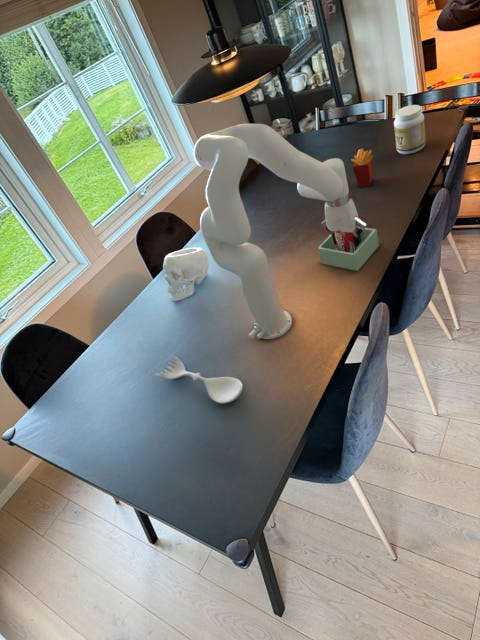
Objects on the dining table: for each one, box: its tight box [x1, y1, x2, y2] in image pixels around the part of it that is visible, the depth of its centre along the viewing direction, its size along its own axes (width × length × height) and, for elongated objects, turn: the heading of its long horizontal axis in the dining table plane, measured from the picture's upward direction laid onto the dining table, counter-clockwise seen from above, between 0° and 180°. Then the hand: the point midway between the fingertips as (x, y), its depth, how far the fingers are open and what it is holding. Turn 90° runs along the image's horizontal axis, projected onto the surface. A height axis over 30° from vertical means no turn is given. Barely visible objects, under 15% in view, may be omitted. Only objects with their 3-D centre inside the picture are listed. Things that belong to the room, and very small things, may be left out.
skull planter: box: [162, 247, 210, 302], centre depth 166 cm, size 14×20×19 cm
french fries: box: [350, 148, 374, 188], centre depth 176 cm, size 9×8×15 cm
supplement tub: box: [393, 104, 426, 155], centre depth 183 cm, size 12×12×17 cm
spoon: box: [155, 354, 243, 404], centre depth 128 cm, size 9×32×4 cm, turn 54°
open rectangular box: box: [317, 226, 380, 272], centre depth 147 cm, size 15×15×7 cm
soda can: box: [334, 229, 359, 253], centre depth 144 cm, size 7×7×12 cm
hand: (347, 242), depth 146 cm, fingers open, 7 cm apart
